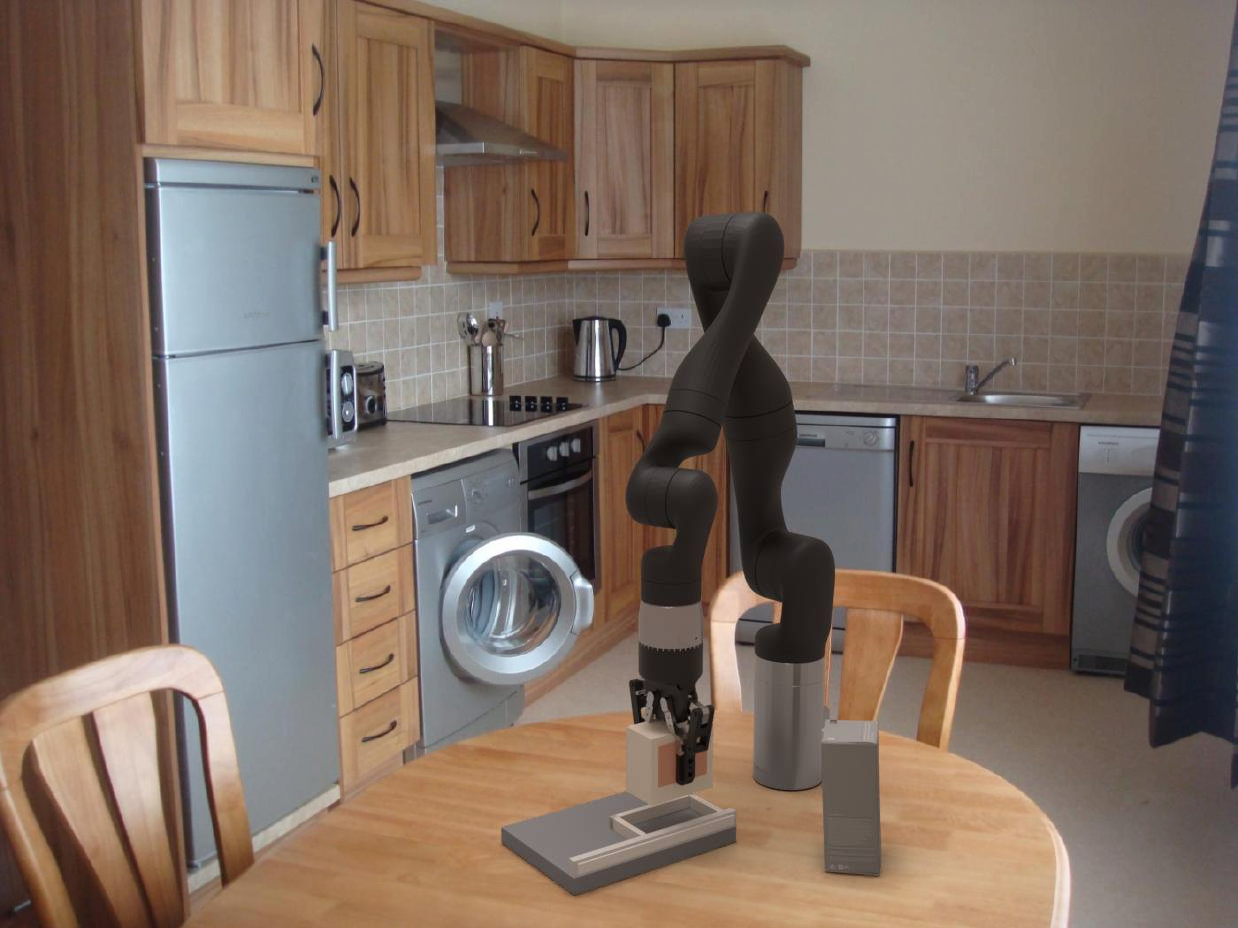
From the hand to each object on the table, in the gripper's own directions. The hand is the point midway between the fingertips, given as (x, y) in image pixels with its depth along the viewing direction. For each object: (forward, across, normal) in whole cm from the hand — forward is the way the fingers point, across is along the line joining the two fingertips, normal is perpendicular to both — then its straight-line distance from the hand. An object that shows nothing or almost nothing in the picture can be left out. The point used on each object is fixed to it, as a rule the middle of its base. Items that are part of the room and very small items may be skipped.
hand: (670, 774), depth 161 cm
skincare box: (+9, -15, -15) cm, 23 cm away
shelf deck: (+9, +4, +5) cm, 11 cm away
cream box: (+2, 0, 0) cm, 2 cm away
